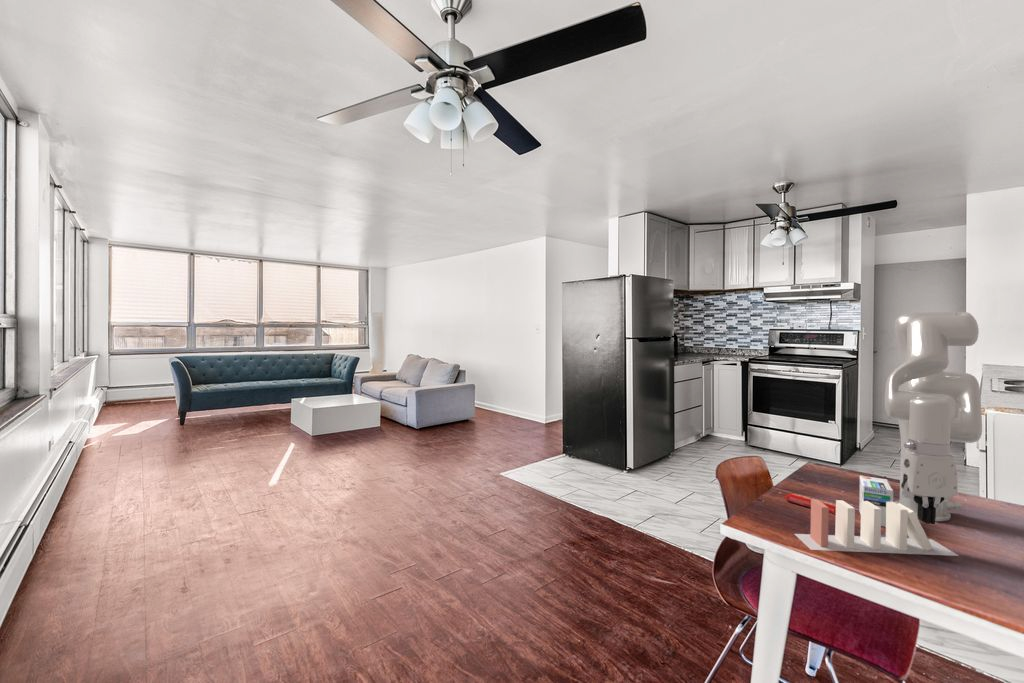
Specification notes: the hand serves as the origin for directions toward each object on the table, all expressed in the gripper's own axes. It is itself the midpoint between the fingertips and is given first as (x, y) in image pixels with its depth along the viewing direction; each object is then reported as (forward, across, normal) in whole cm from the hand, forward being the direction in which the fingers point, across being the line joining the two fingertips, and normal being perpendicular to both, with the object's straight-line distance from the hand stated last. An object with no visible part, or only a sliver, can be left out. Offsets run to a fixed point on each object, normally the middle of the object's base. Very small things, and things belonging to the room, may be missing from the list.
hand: (926, 521), depth 114 cm
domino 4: (+6, -7, 0) cm, 9 cm away
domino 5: (+6, -1, 0) cm, 6 cm away
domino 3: (+6, -13, 0) cm, 14 cm away
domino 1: (+6, -25, 0) cm, 25 cm away
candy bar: (+7, -14, +24) cm, 28 cm away
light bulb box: (+7, -1, +16) cm, 18 cm away
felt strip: (+7, -12, 0) cm, 14 cm away
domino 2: (+6, -19, 0) cm, 20 cm away
